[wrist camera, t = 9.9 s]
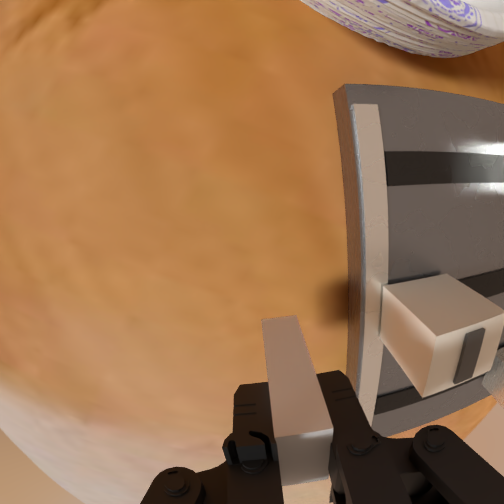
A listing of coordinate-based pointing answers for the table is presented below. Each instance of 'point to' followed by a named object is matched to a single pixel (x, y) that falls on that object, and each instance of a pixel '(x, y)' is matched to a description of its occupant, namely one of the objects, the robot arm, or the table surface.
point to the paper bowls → (421, 23)
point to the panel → (418, 229)
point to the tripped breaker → (440, 331)
